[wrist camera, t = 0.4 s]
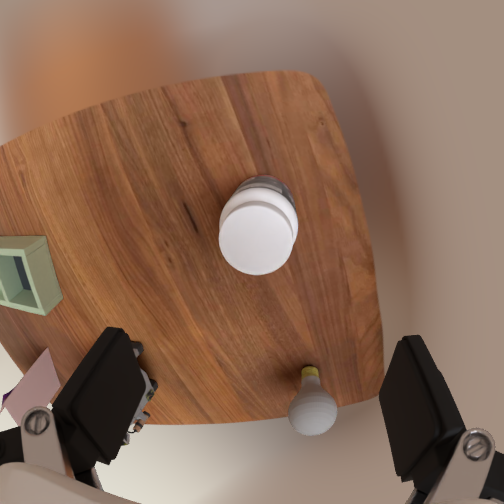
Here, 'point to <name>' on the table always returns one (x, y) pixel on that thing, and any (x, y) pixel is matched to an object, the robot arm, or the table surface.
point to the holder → (28, 275)
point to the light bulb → (312, 406)
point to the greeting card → (32, 388)
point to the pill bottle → (258, 225)
